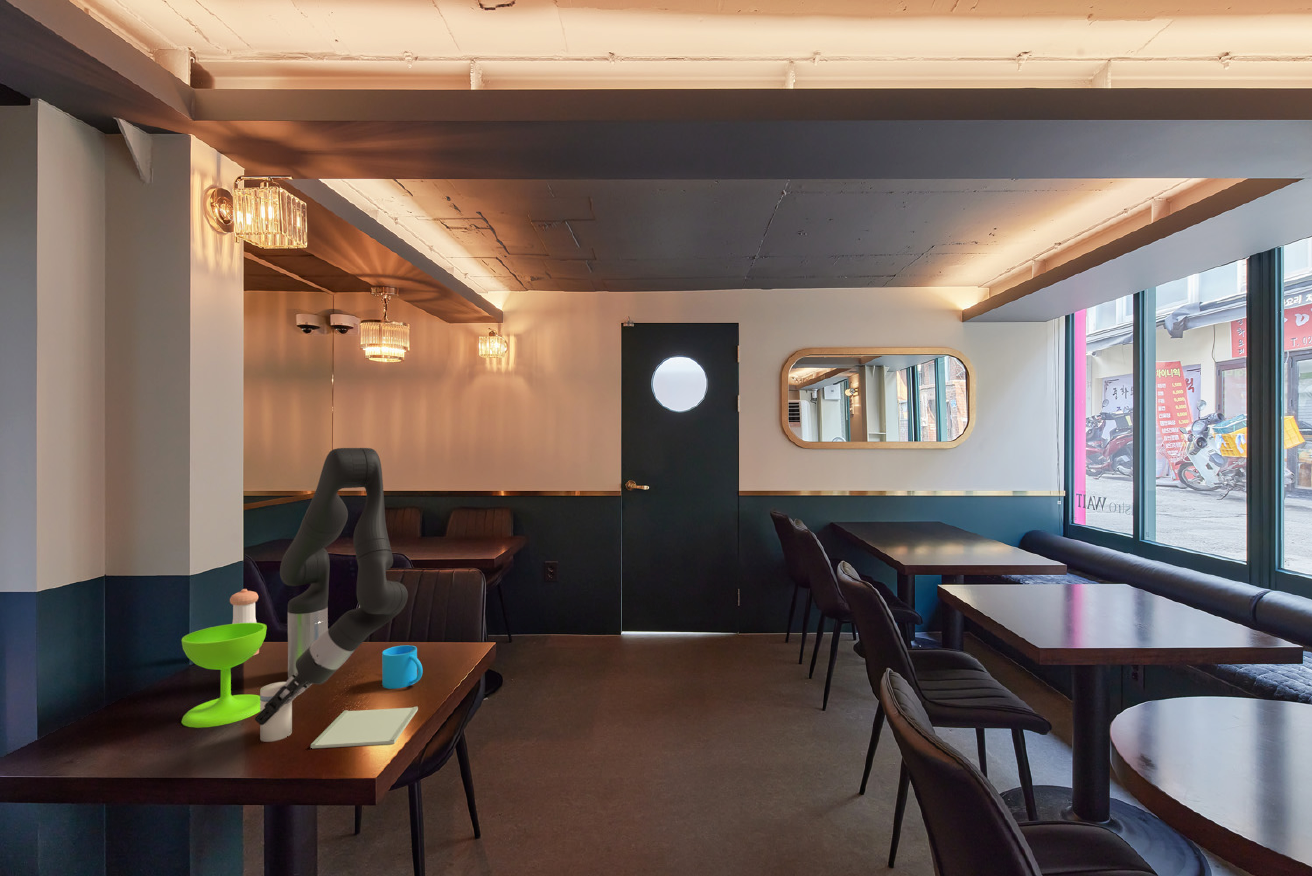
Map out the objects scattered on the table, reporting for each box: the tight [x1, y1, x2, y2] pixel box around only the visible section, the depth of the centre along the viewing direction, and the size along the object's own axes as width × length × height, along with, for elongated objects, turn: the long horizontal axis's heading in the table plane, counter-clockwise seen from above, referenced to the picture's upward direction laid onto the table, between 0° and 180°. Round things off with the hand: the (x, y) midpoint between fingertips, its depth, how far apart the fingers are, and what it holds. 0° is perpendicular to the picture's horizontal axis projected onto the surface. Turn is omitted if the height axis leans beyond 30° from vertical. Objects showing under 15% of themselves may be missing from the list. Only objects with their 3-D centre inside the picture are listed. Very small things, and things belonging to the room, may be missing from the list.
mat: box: [310, 706, 419, 749], centre depth 130 cm, size 16×16×1 cm
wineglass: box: [181, 622, 268, 729], centre depth 139 cm, size 16×16×18 cm
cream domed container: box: [259, 681, 293, 743], centre depth 127 cm, size 6×6×10 cm
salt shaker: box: [229, 588, 260, 657], centre depth 180 cm, size 7×7×19 cm
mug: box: [381, 644, 424, 690], centre depth 155 cm, size 12×8×8 cm
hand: (267, 715), depth 127 cm, fingers closed on cream domed container, 5 cm apart
